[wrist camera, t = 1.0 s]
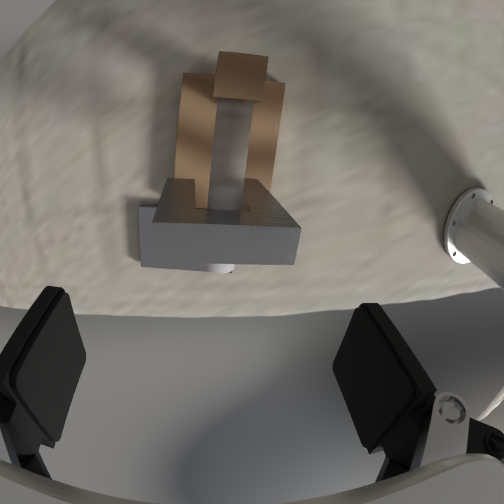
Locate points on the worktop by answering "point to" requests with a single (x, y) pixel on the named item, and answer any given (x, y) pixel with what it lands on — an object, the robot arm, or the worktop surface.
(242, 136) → the hook stand
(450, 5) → the worktop surface
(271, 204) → the grey u-shaped bracket
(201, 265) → the rubber mat
